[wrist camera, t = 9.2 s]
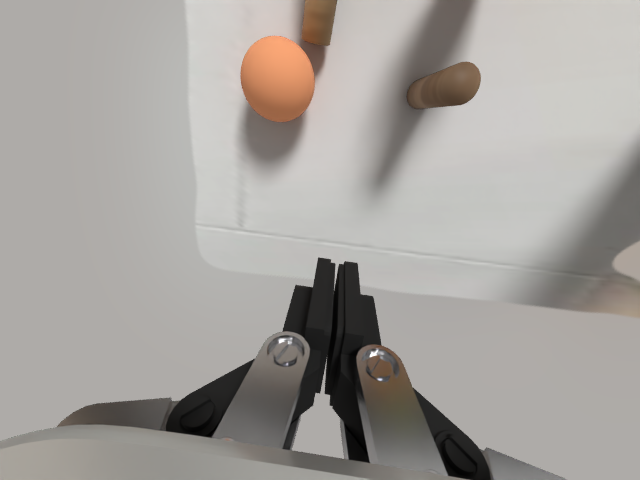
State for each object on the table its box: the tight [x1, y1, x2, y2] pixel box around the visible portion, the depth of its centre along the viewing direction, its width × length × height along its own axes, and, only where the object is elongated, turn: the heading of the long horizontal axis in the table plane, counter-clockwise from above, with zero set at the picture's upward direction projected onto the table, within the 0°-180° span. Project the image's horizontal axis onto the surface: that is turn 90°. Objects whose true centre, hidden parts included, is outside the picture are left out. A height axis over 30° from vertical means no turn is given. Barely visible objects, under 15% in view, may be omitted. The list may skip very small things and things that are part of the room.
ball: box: [241, 36, 315, 122], centre depth 21 cm, size 6×6×6 cm
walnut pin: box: [407, 62, 481, 109], centre depth 20 cm, size 2×2×8 cm
